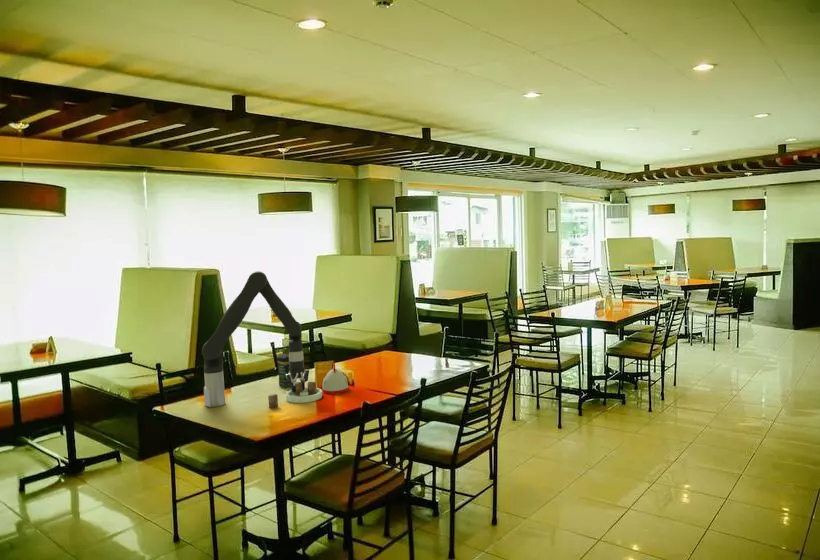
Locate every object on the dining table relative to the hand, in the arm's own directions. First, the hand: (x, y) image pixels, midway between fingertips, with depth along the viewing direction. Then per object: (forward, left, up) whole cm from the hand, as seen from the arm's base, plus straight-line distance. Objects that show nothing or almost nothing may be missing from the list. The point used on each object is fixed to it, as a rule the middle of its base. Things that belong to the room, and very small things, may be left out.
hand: (298, 390), depth 300 cm
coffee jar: (+8, +23, -3) cm, 24 cm away
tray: (0, -5, -3) cm, 6 cm away
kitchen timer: (+19, -7, -3) cm, 21 cm away
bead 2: (+5, -5, -2) cm, 7 cm away
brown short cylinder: (-19, -6, -3) cm, 20 cm away
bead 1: (0, 0, -2) cm, 2 cm away
